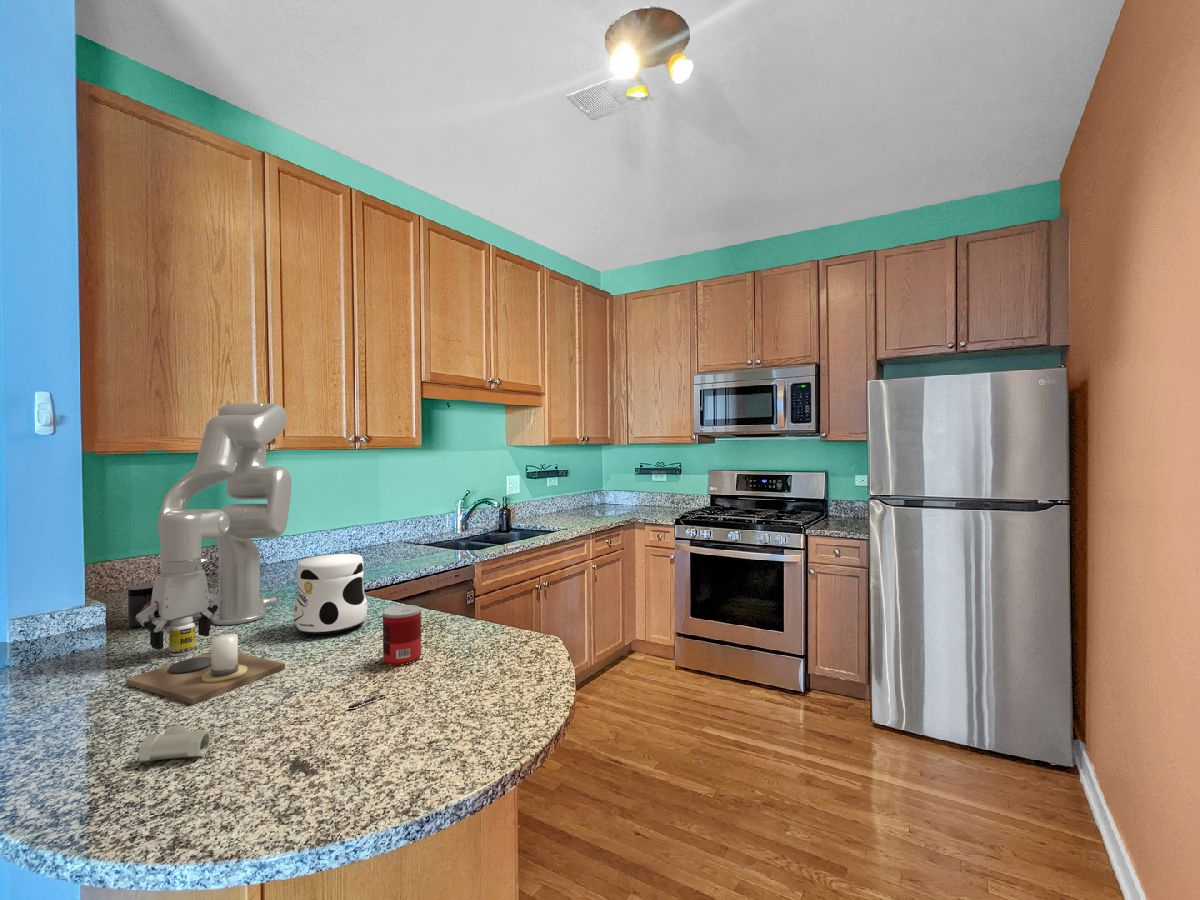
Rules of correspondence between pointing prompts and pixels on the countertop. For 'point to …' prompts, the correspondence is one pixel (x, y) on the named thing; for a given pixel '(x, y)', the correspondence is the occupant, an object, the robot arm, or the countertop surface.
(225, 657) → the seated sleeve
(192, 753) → the pipe fitting
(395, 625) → the canned food
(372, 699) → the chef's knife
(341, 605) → the milk container
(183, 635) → the supplement bottle
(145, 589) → the supplement container
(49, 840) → the countertop surface
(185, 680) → the pin board
